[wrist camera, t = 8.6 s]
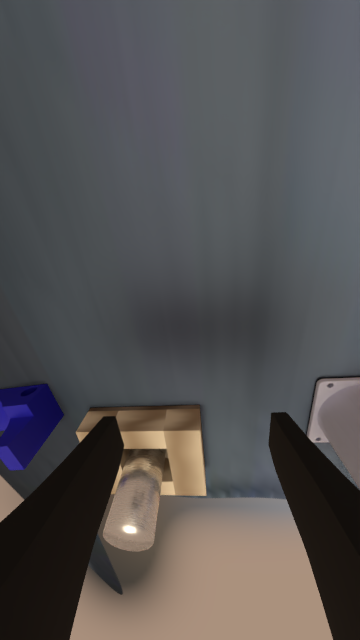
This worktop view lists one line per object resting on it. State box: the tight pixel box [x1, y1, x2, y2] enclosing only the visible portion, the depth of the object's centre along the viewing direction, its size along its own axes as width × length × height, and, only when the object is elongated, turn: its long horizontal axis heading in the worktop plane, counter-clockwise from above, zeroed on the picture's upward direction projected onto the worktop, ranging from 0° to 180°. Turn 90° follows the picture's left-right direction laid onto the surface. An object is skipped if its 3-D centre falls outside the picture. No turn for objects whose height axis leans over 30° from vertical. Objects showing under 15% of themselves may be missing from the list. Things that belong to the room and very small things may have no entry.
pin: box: [103, 449, 167, 551], centre depth 20 cm, size 4×4×8 cm
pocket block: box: [76, 405, 206, 496], centre depth 22 cm, size 12×10×3 cm
